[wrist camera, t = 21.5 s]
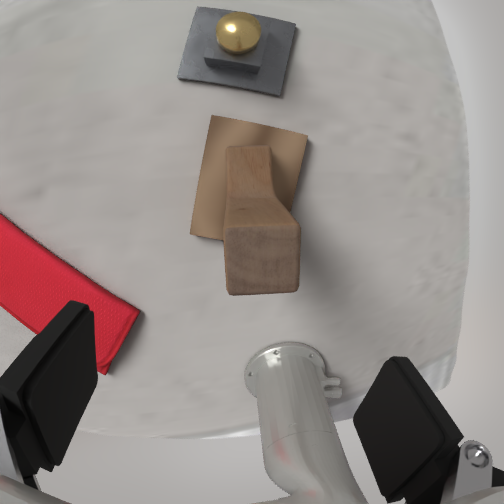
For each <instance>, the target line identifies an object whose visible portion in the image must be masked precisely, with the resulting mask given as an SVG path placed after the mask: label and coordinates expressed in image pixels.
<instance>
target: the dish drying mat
mask: <svg viewBox="0 0 504 504" xmlns="http://www.w3.org/2000/svg"><path fill="white" fill-rule="evenodd" d="M70 300H74V301H77V302H81V303H84V304H88V305H89V308H90V310H91V311H93V312H94V321H95V346H96V362H97V371H98V372H100V373H102V374H103V375H106V374H107V372H108V369H109V367H110V364H111V362H112V360H113V358H114V357H115V356H116V354H117V352H118V351H119V349H120V347H121V345H122V344H123V342H124V340H125V338H126V336H127V335H128V333H129V331H130V329H131V327H132V325H133V324H134V322H135V320H136V318H137V317H138V315H139V313H140V311H139V310H138V309H136V308H135V307H133V306H131V305H129V304H128V303H126V302H125V301H123V300H121V299H119V298H118V297H116V296H115V295H113V294H111V293H110V292H108V291H107V290H105V289H104V288H102V287H101V286H99V285H98V284H96V283H94V282H93V281H92V280H90V279H89V278H87V277H86V276H84V275H83V274H81V273H80V272H78V271H77V270H76V269H74V268H73V267H71V266H70V265H68V264H67V263H65V262H64V261H62V260H61V259H59V258H58V257H56V256H55V255H54V254H52V253H51V252H49V251H48V250H47V249H45V248H44V247H42V246H41V245H40V244H38V243H37V242H36V241H34V240H33V239H32V238H30V237H29V236H28V235H26V234H25V233H23V232H22V231H21V230H20V229H18V228H17V227H16V226H15V225H14V224H12V223H11V222H10V221H9V220H7V219H6V218H5V217H4V216H2V215H1V214H0V306H1V307H2V308H4V309H5V310H6V311H7V312H9V313H10V314H11V315H12V316H13V317H15V318H16V319H17V320H18V321H20V322H21V323H22V324H24V325H25V326H26V327H27V328H29V329H30V330H31V331H33V332H34V333H35V334H39V333H40V332H41V331H42V330H43V329H44V328H45V326H46V325H47V324H48V323H49V322H50V321H51V320H52V319H53V318H54V317H55V316H56V314H57V313H58V312H59V311H60V310H61V309H62V308H63V307H64V306H65V305H66V304H67V303H68V302H69V301H70Z"/></svg>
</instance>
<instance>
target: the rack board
mask: <svg viewBox="0 0 504 504" xmlns="http://www.w3.org/2000/svg"><path fill="white" fill-rule="evenodd" d="M307 137H308V135H304V134H300V133H296V132H292V131H288V130H284V129H279V128H275V127H271V126H266V125H261V124H257V123H252V122H247V121H242V120H237V119H231V118H226V117H220V116H214V115H212V116H211V121H210V125H209V130H208V135H207V140H206V145H205V150H204V155H203V160H202V165H201V170H200V176H199V181H198V187H197V193H196V198H195V204H194V210H193V216H192V223H191V229H190V234H191V235H197V236H202V237H208V238H213V239H219V240H223V227H224V219H225V210H226V198H227V187H226V151H225V150H226V148H227V147H229V146H250V145H268V146H270V147H271V149H272V172H273V181H274V189H275V193H276V196H277V198H278V200H279V201H280V202H281V203H282V204H283V205H284V207H285V208H286V209H287V210H288V211H289V212H290V211H291V207H292V202H293V198H294V194H295V190H296V186H297V181H298V177H299V173H300V168H301V164H302V160H303V155H304V151H305V146H306V142H307Z"/></svg>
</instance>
